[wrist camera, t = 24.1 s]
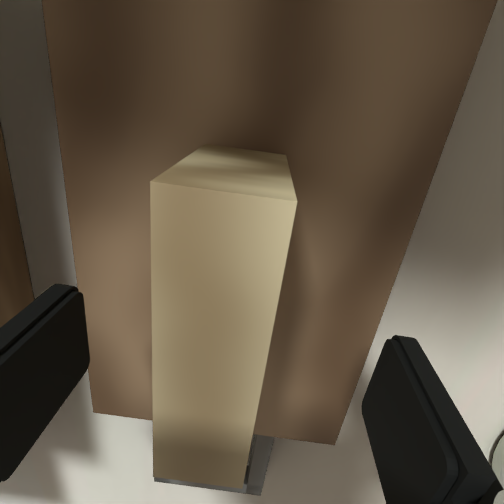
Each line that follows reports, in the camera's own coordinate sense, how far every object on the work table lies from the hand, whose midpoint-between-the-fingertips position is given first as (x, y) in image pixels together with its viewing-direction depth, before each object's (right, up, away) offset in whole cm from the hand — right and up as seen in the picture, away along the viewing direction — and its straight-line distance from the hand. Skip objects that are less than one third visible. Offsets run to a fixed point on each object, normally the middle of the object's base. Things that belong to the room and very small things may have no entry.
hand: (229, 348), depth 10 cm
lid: (0, +1, +7) cm, 7 cm away
